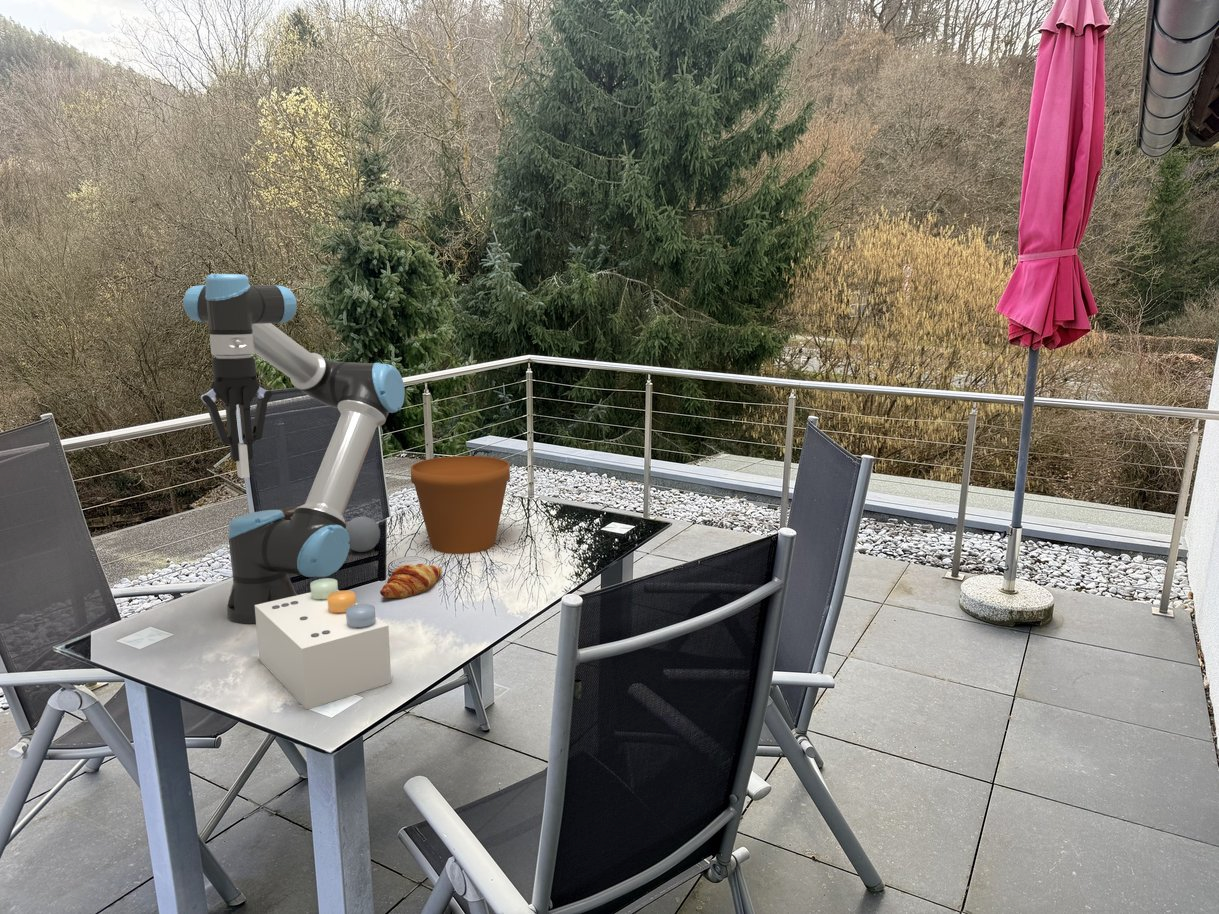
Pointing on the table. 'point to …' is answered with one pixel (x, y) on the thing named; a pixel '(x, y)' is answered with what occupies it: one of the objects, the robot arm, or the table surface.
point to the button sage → (323, 588)
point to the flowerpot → (461, 500)
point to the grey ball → (363, 534)
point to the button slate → (360, 615)
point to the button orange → (341, 601)
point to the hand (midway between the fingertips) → (243, 476)
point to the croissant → (410, 580)
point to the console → (320, 650)
